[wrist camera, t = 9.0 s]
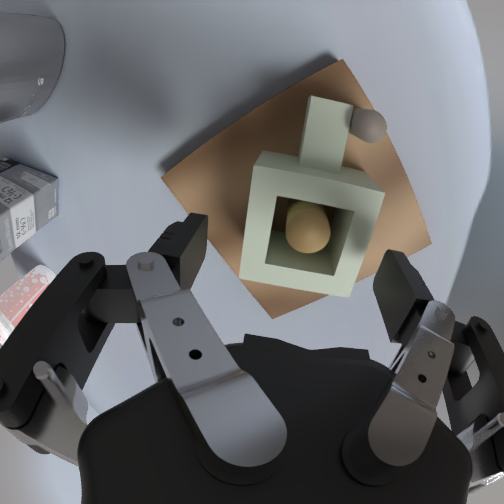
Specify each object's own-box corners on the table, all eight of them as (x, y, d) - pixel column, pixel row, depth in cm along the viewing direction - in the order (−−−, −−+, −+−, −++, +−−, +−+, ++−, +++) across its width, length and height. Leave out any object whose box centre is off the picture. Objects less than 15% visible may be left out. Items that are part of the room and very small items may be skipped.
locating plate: (166, 173, 18) (133, 196, 14) (339, 61, 13) (355, 47, 9) (273, 310, 22) (267, 353, 18) (426, 237, 17) (452, 271, 13)
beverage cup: (25, 269, 25) (-47, 345, 13) (42, 250, 23) (-47, 337, 11) (55, 309, 28) (-8, 391, 16) (76, 296, 25) (1, 393, 13)
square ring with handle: (339, 259, 18) (348, 297, 15) (249, 242, 18) (238, 278, 15) (377, 114, 13) (403, 119, 10) (271, 91, 14) (264, 86, 10)
